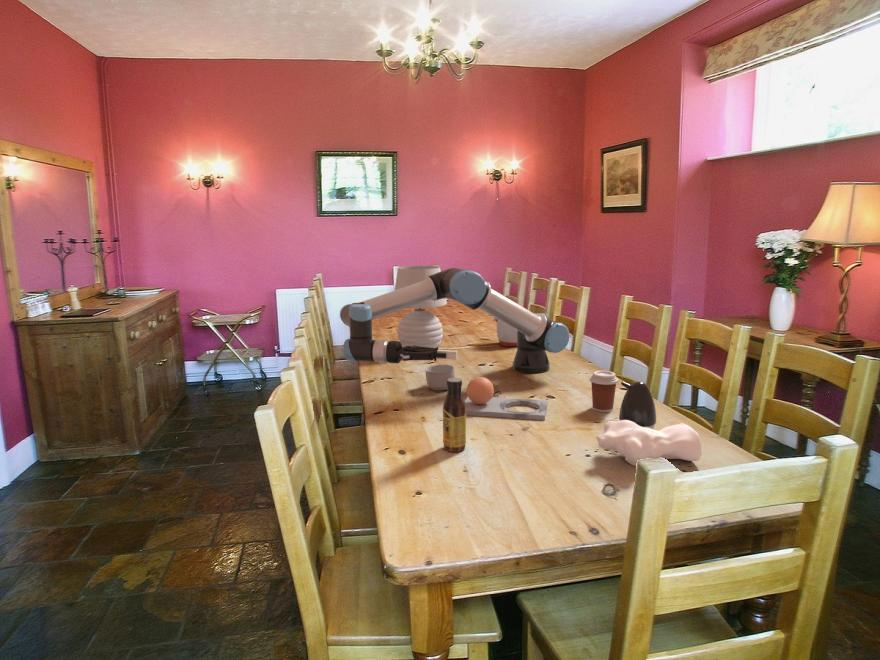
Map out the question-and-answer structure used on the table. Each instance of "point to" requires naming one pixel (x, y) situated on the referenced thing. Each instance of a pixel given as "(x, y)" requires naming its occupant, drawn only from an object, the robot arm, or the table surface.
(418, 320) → the table lamp
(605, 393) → the coffee cup
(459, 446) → the sauce bottle
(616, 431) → the torso sculpture
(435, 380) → the teacup
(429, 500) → the table surface
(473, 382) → the ball
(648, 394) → the black egg shaped figurine
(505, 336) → the citrus juicer
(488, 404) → the board
